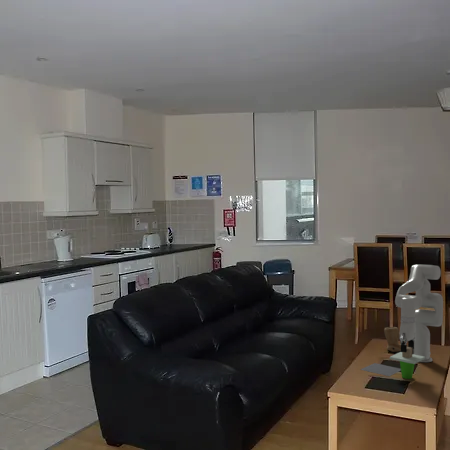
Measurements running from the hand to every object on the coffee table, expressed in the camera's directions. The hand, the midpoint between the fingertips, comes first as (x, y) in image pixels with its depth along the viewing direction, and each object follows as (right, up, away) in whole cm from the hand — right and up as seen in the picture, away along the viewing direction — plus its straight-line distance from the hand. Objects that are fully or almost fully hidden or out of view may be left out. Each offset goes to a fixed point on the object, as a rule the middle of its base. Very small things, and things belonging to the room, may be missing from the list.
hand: (407, 350), depth 293 cm
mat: (-10, -15, +15) cm, 24 cm away
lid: (0, -5, 0) cm, 5 cm away
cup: (0, -16, 0) cm, 16 cm away
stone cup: (+12, -14, +62) cm, 64 cm away
